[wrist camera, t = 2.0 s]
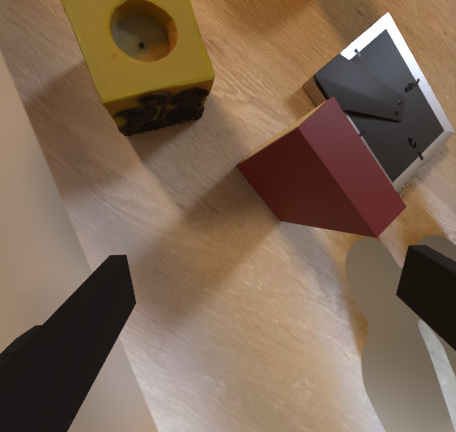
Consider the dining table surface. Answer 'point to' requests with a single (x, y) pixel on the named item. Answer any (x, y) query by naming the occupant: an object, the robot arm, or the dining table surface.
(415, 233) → the dining table surface
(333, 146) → the book
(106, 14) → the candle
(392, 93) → the picture frame
